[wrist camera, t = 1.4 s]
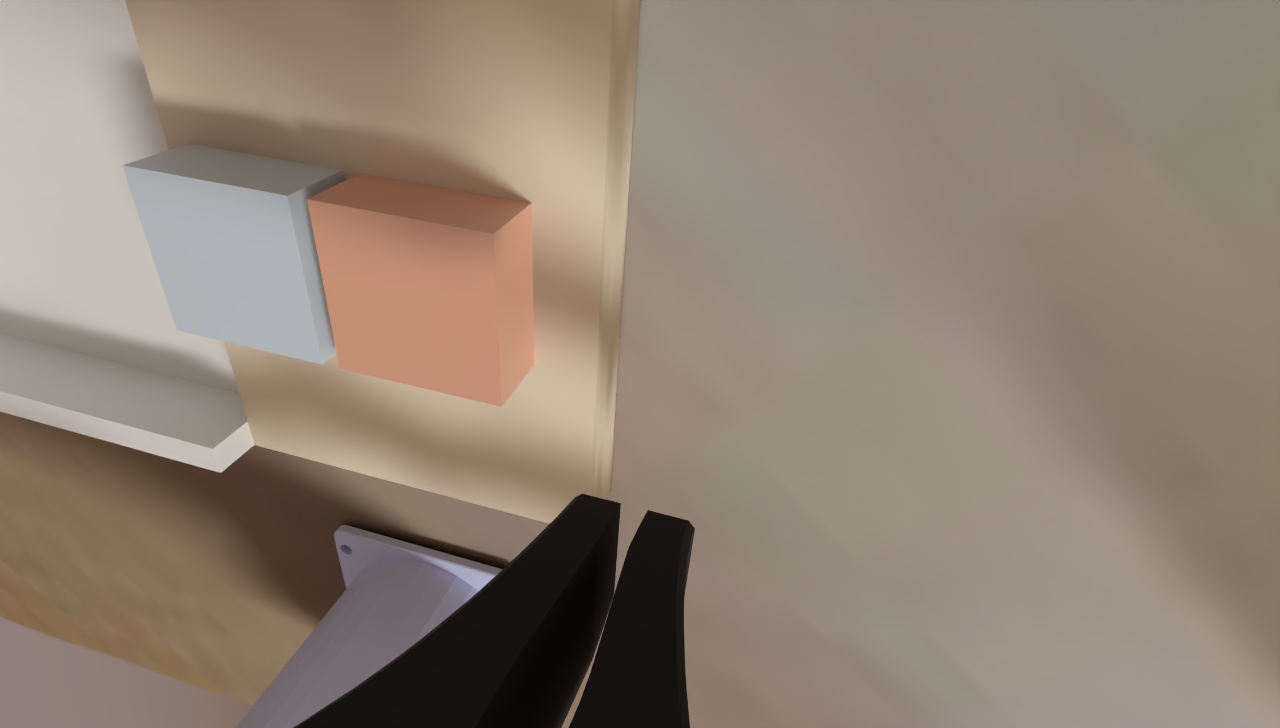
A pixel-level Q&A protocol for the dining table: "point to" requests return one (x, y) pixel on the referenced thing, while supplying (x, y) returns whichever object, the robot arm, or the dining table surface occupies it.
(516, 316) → the terracotta tile
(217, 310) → the blue tile
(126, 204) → the box
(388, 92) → the birch plate
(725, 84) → the dining table surface
